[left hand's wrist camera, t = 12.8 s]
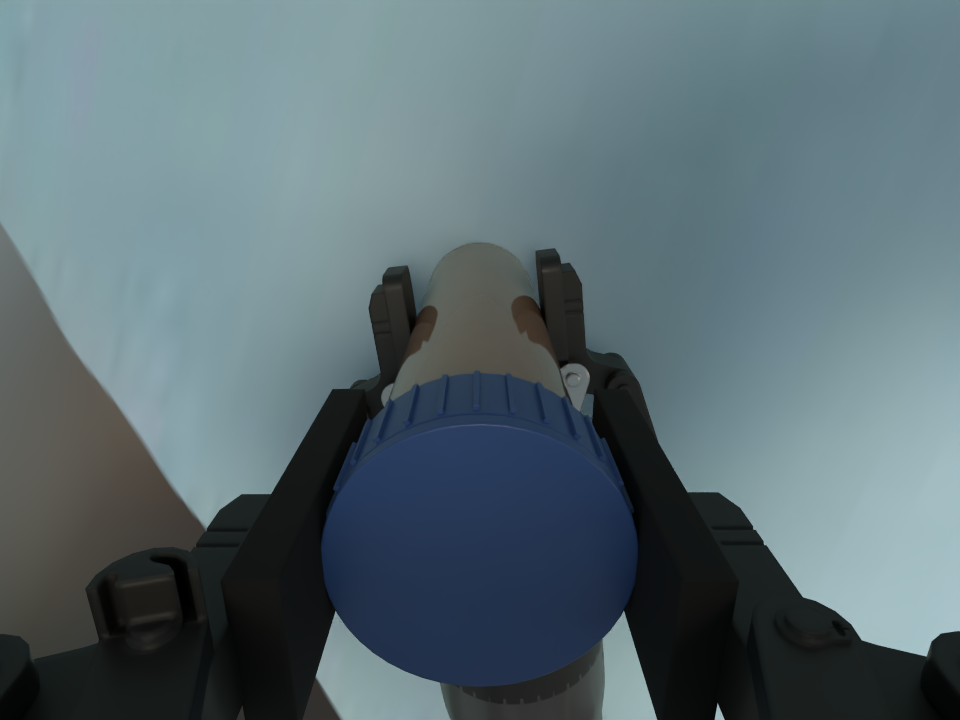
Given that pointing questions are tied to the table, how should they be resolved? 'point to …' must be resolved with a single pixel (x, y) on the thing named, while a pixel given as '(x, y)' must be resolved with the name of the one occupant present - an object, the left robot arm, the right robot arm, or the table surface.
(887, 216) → the table surface
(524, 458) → the lid
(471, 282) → the tan cylinder
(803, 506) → the table surface
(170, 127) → the table surface
